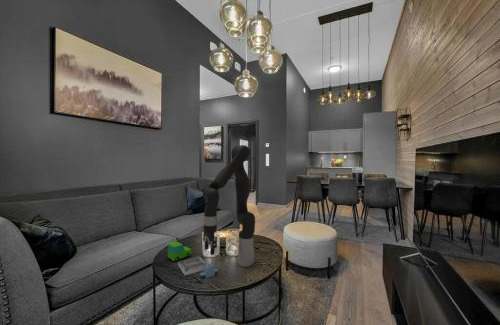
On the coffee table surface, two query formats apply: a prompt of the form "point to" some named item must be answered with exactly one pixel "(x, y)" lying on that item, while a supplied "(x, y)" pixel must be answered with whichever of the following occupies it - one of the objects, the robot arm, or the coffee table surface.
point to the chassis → (191, 265)
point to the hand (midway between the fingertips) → (209, 251)
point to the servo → (209, 271)
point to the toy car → (177, 251)
